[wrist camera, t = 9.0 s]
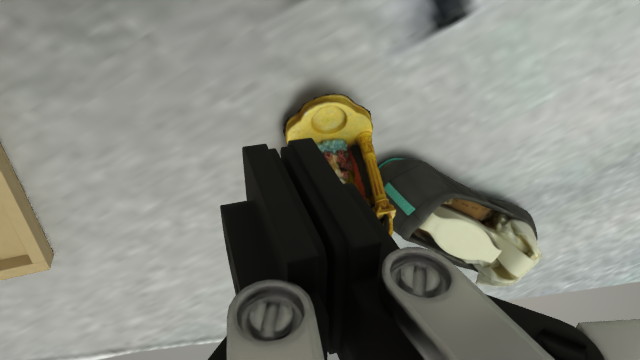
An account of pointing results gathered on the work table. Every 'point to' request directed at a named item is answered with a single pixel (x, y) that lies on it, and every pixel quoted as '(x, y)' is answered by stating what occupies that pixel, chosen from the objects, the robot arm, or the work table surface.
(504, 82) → the work table surface
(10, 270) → the boot tray
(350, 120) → the shrine
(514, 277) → the dark grey shoe
